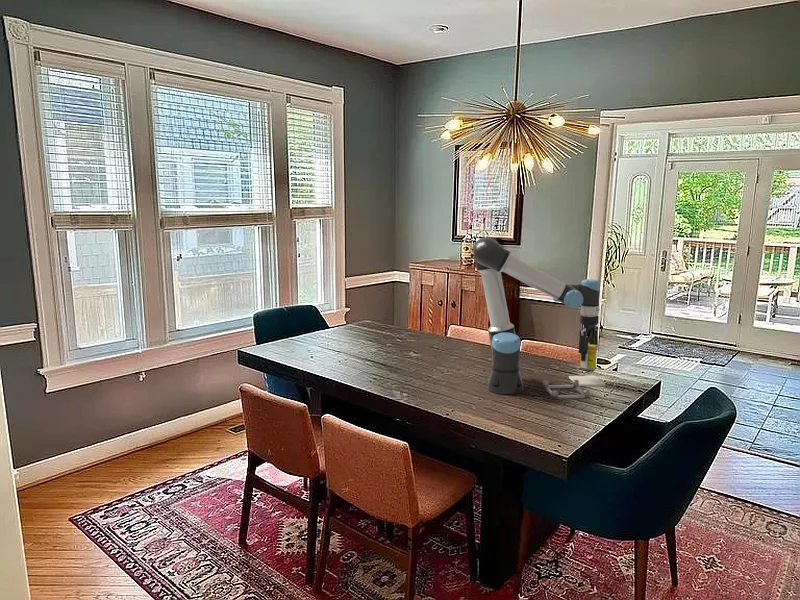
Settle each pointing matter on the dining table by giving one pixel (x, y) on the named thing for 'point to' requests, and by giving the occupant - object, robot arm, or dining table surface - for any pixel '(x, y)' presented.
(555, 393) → the grey rod square frame
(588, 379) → the plate
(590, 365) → the supplement box
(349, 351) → the dining table surface
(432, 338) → the dining table surface
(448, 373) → the dining table surface
